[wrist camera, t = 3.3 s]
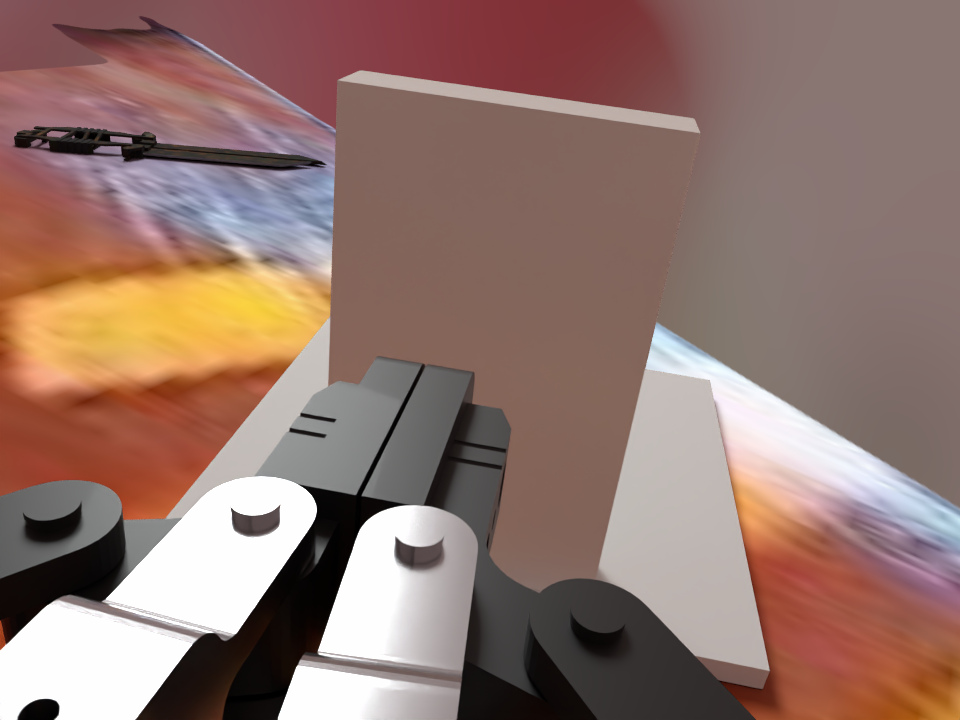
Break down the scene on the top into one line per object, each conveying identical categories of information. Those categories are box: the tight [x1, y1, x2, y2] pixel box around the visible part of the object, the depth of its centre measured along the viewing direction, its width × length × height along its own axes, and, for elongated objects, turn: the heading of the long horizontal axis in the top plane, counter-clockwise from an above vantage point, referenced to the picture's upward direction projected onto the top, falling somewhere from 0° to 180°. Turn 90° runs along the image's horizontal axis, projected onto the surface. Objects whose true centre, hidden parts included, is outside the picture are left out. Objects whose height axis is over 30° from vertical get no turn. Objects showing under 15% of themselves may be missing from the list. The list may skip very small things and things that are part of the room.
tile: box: [328, 71, 700, 590], centre depth 24 cm, size 9×2×15 cm, turn 81°
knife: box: [14, 126, 326, 167], centre depth 70 cm, size 25×6×1 cm, turn 90°
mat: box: [165, 317, 770, 689], centre depth 34 cm, size 20×19×1 cm
